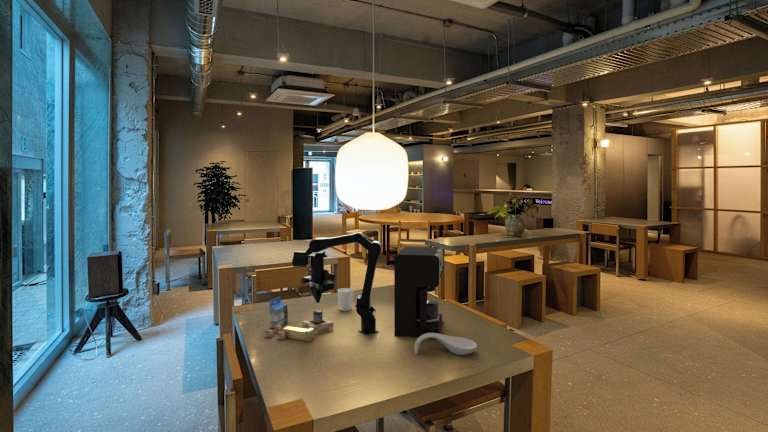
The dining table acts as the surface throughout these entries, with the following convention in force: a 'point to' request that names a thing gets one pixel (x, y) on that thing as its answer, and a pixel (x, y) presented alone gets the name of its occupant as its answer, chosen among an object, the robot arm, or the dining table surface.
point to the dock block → (318, 325)
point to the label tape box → (278, 313)
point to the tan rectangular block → (299, 333)
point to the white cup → (345, 299)
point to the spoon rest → (449, 343)
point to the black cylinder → (317, 317)
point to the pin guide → (276, 329)
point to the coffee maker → (417, 291)
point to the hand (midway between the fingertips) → (317, 302)
